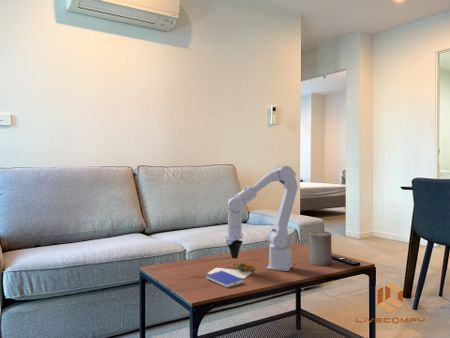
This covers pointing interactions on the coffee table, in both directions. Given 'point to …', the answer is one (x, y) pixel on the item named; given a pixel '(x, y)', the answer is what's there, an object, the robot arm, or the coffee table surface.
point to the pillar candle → (320, 248)
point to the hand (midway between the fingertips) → (234, 258)
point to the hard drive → (224, 278)
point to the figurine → (244, 267)
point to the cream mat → (232, 272)
